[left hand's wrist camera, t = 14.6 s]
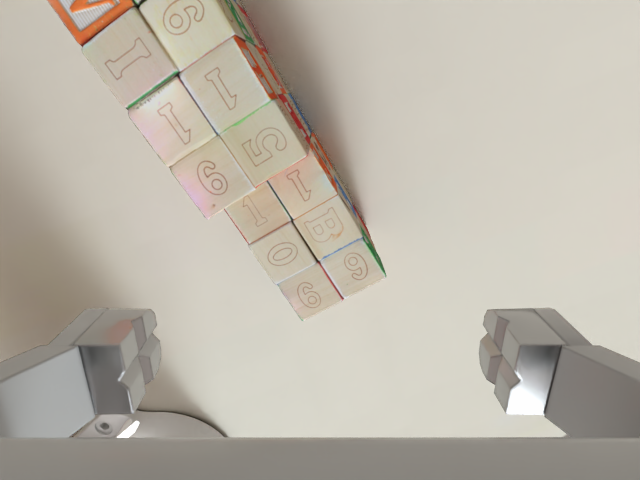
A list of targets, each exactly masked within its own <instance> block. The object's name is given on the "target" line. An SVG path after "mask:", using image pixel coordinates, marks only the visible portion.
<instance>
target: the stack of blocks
mask: <svg viewBox="0 0 640 480" xmlns="http://www.w3.org/2000/svg"><path fill="white" fill-rule="evenodd" d="M47 1H48V2H49V4H50V5H51V6H52V8H53V9H54V10H55V12H56V13H57V14H58V16H59V17H60V19H61V20H62V22H63V23H64V24H65V26H66V27H67V28H68V30H69V31H70V33H71V34H72V35H73V37H74V38H75V40H76V41H77V42H78V43H79V44H80V45H81V46H82V52H83V54H84V55H85V57H86V58H87V59H88V61H89V62H90V63H91V65H92V66H93V68H94V69H95V70H96V71H97V73H98V74H99V75H100V77H101V78H102V79H103V81H104V82H105V84H106V85H107V86H108V88H109V89H110V90H111V92H112V93H113V94H114V96H115V97H116V98H117V99H118V101H119V102H120V103H121V105H122V106H123V107H124V108H126V109H128V115H129V118H130V119H131V120H132V121H133V123H134V124H135V126H136V127H137V128H138V130H139V131H140V132H141V133H142V135H143V136H144V138H145V139H146V140H147V142H148V143H149V144H150V146H151V147H152V148H153V149H154V151H155V152H156V154H157V155H158V156H159V158H160V159H161V160H162V162H163V163H164V164H165V165H166V166H168V167H169V168H170V170H171V172H172V174H173V175H174V176H175V178H176V179H177V180H178V182H179V183H180V184H181V186H182V187H183V188H184V190H185V191H186V192H187V194H188V195H189V197H190V198H191V199H192V201H193V202H194V203H195V205H196V206H197V207H198V208H199V210H200V211H201V212H202V214H203V215H204V217H205V218H206V219H209V218H211V217H212V216H214V215H215V214H217V213H219V212H220V211H222V210H223V209H224V210H225V211H226V213H227V214H228V216H229V217H230V218H231V220H232V221H233V223H234V224H235V226H236V227H237V228H238V230H239V231H240V233H241V234H242V236H243V237H244V239H245V240H246V241H247V243H248V245H249V248H250V250H251V251H252V252H253V254H254V255H255V257H256V258H257V260H258V261H259V263H260V264H261V266H262V267H263V268H264V270H265V271H266V273H267V274H268V276H269V277H270V278H271V280H272V281H273V283H274V284H275V285H278V286H279V288H280V290H281V291H282V293H283V294H284V296H285V297H286V299H287V300H288V301H289V303H290V304H291V306H292V307H293V309H294V310H295V312H296V313H297V315H298V316H299V317H300V319H301V320H302V321H304V320H306V319H308V318H310V317H312V316H314V315H316V314H318V313H320V312H322V311H324V310H326V309H328V308H330V307H332V306H334V305H336V304H338V303H340V302H342V301H343V299H345V298H348V297H350V296H352V295H354V294H356V293H358V292H360V291H362V290H363V289H365V288H367V287H369V286H371V285H373V284H375V283H377V282H379V281H381V280H383V279H385V278H386V273H385V270H384V268H383V265H382V262H381V259H380V257H379V256H378V254H377V252H376V250H375V247H374V244H373V242H372V240H371V237H370V234H369V232H368V229H367V227H366V226H365V224H364V222H363V221H362V219H361V217H360V216H359V214H358V212H357V210H356V209H355V207H354V205H353V203H352V201H351V198H350V196H349V194H348V192H347V191H346V189H345V187H344V185H343V184H342V182H341V180H340V178H339V177H338V175H337V173H336V171H335V170H334V168H333V167H332V164H331V162H330V161H329V159H328V157H327V155H326V153H325V152H324V150H323V148H322V146H321V145H320V143H319V141H318V139H317V138H316V136H315V134H314V132H313V131H311V129H310V127H309V125H308V124H307V122H306V120H305V118H304V117H303V115H302V113H301V111H300V110H299V108H298V106H297V104H296V102H295V101H294V99H293V97H292V96H291V94H290V92H289V91H288V89H287V87H286V85H285V83H284V82H283V80H282V78H281V76H280V75H279V73H278V71H277V69H276V68H275V66H274V64H273V62H272V61H271V59H270V57H269V56H268V52H267V50H266V48H265V46H264V44H263V42H262V41H261V39H260V37H259V35H258V34H257V32H256V30H255V28H254V26H253V25H252V23H251V21H250V19H249V17H248V16H247V14H246V12H245V10H244V8H243V6H242V4H241V2H240V1H239V0H47Z"/></svg>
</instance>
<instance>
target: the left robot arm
mask: <svg viewBox="0 0 640 480" xmlns="http://www.w3.org/2000/svg"><path fill="white" fill-rule="evenodd" d="M156 326H157V322H156V318H155V313H154V312H153V311H152V310H151V309H123V308H111V309H110V308H90V309H85V310H84V311H83V312H82V313H81V314H80V315H79V316H78V317H77V318H76V319H75V320H74V321H73V322H71V323H70V324H69V325H68V326H67V327H66V328H65V329H64V330H63V331H62V332H61V333H60V334H59V335H58V336H57V337H56V338H55V339H54V340H53V341H51V342H50V343H49V344H48V345H45V346H38V347H36V348H33V349H31V350H29V351H26V352H24V353H22V354H19V355H17V356H15V357H12V358H10V359H7V360H5V361H3V362H0V480H640V362H637V361H635V360H632V359H630V358H628V357H625V356H623V355H621V354H618V353H616V352H614V351H611V350H609V349H607V348H604V347H602V346H595V345H592V344H591V343H590V342H589V341H588V340H586V339H585V338H584V337H583V336H582V335H581V334H580V333H579V332H578V331H577V330H576V329H575V328H574V327H573V326H572V325H571V324H570V323H569V322H568V321H567V320H565V319H564V318H563V317H562V316H561V315H560V314H559V313H558V312H557V311H556V310H555V309H552V308H527V309H491V310H487V312H486V314H485V316H484V322H483V326H484V327H485V329H486V330H487V332H488V333H487V334H486V335H485V336H484V337H483V338H482V340H481V341H480V348H479V359H480V365H481V369H482V372H483V374H484V376H485V377H486V379H487V380H488V381H490V382H491V383H493V384H495V390H494V394H495V395H496V397H497V399H498V401H499V402H500V404H501V406H502V408H503V409H504V411H505V413H506V414H530V415H545V416H544V417H546V418H547V419H548V420H550V421H551V422H552V423H553V424H555V425H556V426H557V427H559V428H560V429H561V430H563V431H564V432H565V433H566V434H568V435H569V436H570V437H568V438H567V437H477V438H225V437H224V436H223V435H222V434H220V433H219V432H218V431H217V430H215V429H214V428H212V427H211V426H209V425H208V424H206V423H204V422H202V421H200V420H197V419H195V418H192V417H189V416H186V415H182V414H177V413H170V412H144V411H138V410H136V409H137V408H138V406H139V404H140V402H141V401H142V399H143V397H144V395H145V394H146V390H145V384H147V383H149V382H150V381H152V380H153V379H154V377H155V376H156V374H157V372H158V369H159V365H160V360H161V347H160V341H159V340H158V338H157V337H156V336H155V335H154V334H153V333H152V332H153V330H154V329H155V327H156ZM85 424H86V425H85ZM84 425H85V426H84ZM83 426H84V427H83ZM81 427H83V428H82V429H81V430H80V431H79V432H78V433H77V434H76V435H75V436H74V437H73V438H68V437H70V436H71V435H72V434H74V433H75V432H76V431H78V430H79V429H80V428H81Z"/></svg>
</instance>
